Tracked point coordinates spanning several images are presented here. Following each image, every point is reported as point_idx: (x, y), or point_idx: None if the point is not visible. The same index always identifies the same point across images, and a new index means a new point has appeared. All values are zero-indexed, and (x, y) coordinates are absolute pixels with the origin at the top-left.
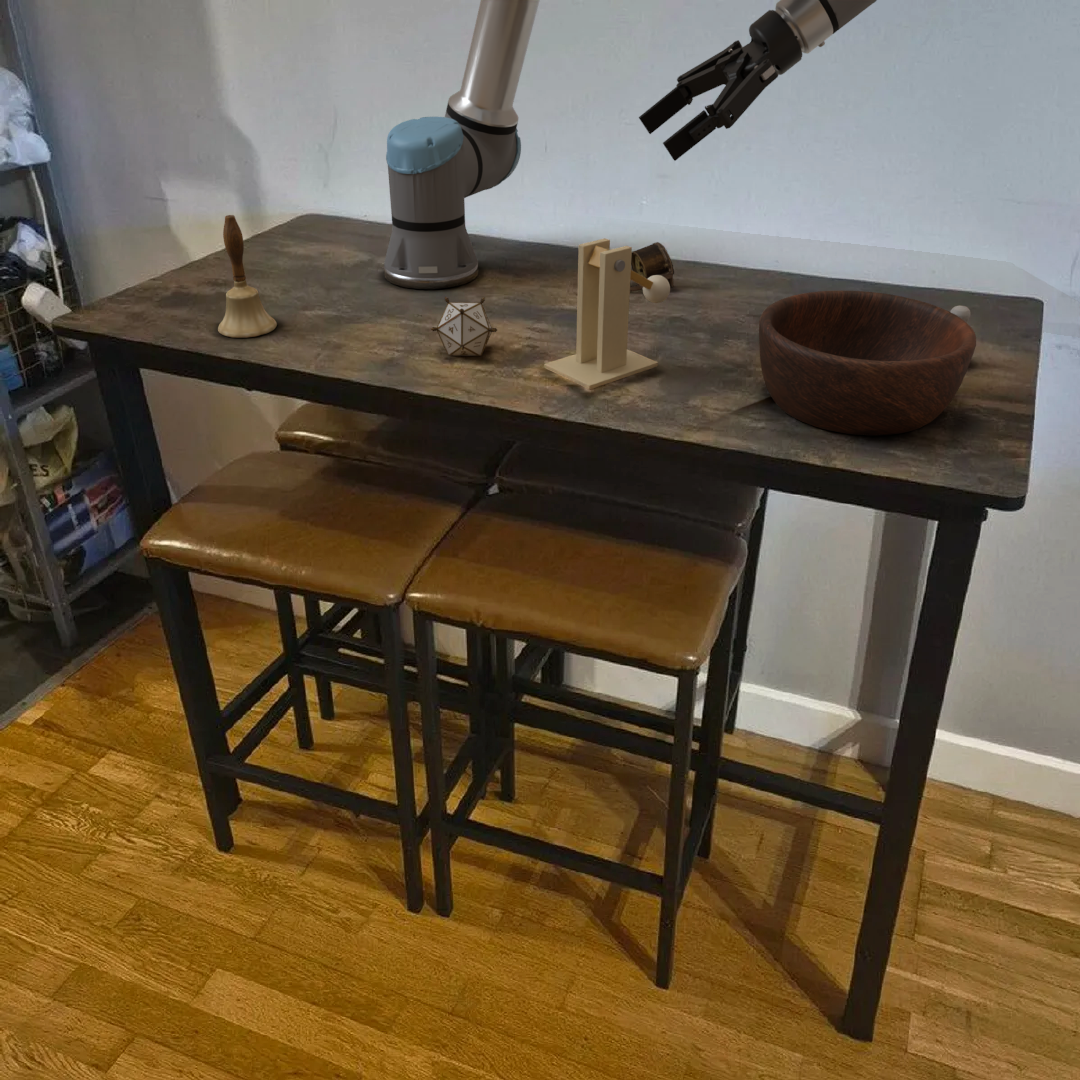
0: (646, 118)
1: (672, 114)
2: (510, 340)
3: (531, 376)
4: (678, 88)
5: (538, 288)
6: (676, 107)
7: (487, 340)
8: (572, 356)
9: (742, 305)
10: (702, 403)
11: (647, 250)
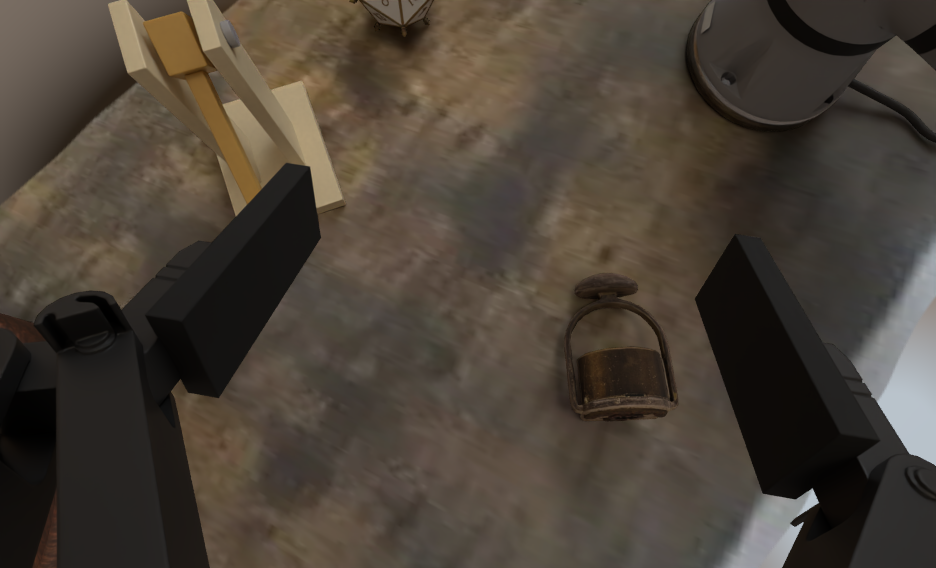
0: (733, 265)
1: (733, 395)
2: (443, 87)
3: (305, 72)
4: (883, 462)
5: (655, 199)
6: (755, 419)
7: (388, 22)
8: (312, 125)
9: (472, 512)
10: (120, 251)
11: (625, 370)
